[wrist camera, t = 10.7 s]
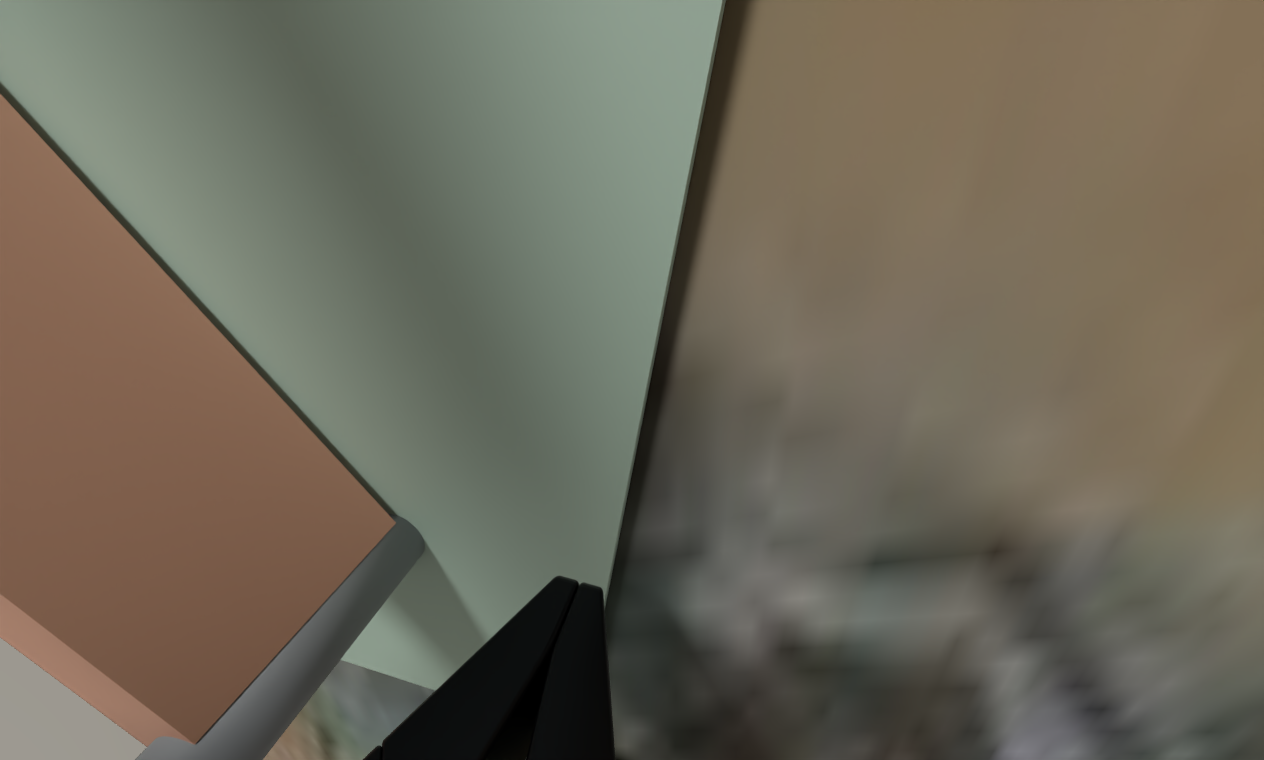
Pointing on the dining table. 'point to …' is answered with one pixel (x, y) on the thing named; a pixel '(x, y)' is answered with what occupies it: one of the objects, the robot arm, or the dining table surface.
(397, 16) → the card
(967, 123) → the dining table surface
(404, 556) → the salmon brown flat block
